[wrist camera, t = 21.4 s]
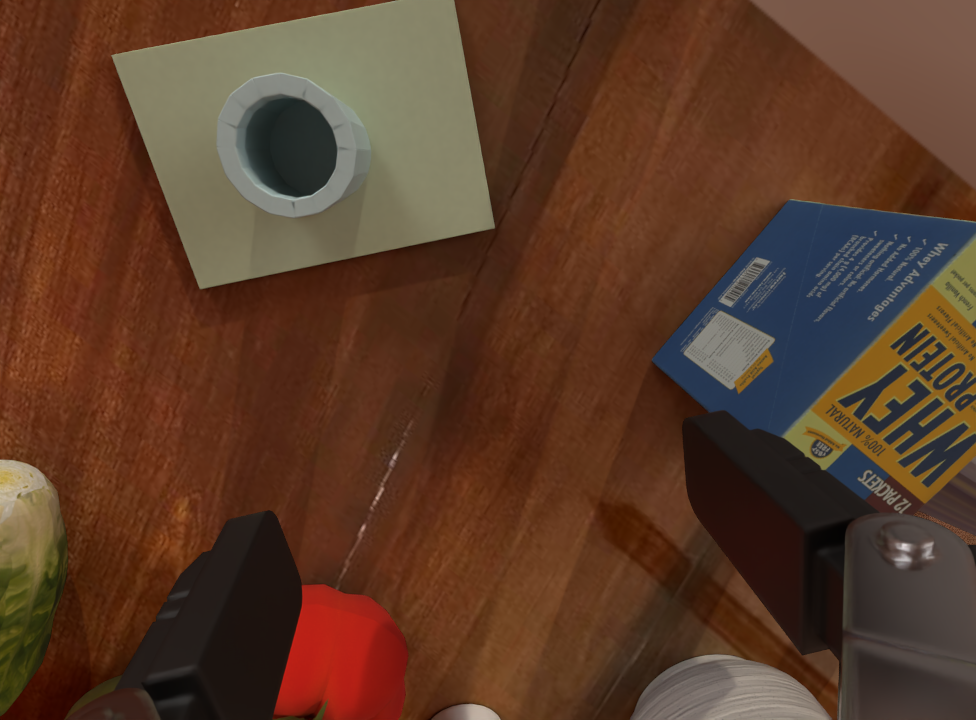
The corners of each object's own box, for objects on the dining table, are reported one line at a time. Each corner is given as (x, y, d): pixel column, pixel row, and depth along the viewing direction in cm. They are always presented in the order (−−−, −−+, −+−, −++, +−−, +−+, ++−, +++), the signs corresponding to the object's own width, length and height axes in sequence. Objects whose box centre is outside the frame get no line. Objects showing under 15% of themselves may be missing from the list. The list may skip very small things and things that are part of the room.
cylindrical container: (355, 84, 34) (334, 61, 26) (382, 192, 37) (370, 203, 28) (251, 105, 34) (195, 88, 26) (284, 212, 36) (243, 229, 28)
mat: (451, -7, 34) (452, -10, 33) (493, 226, 39) (495, 228, 38) (117, 57, 33) (110, 55, 32) (203, 286, 38) (199, 289, 37)
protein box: (875, 279, 43) (1103, 341, 29) (736, 429, 47) (879, 552, 32) (788, 194, 40) (994, 216, 26) (646, 360, 44) (759, 462, 29)
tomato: (274, 537, 45) (227, 659, 34) (437, 587, 49) (441, 712, 38) (222, 658, 49) (165, 804, 38) (378, 696, 52) (366, 840, 41)
